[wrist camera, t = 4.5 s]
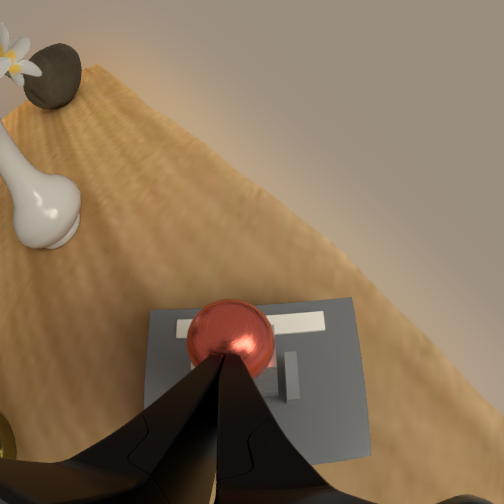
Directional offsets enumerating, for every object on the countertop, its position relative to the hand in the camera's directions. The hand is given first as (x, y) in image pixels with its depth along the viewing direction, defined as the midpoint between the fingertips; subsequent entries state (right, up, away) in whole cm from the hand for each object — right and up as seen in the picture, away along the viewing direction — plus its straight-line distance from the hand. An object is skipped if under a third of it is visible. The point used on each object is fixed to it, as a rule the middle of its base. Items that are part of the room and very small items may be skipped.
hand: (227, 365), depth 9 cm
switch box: (+1, -7, +12) cm, 14 cm away
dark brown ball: (-41, +37, +44) cm, 71 cm away
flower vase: (-21, +6, +22) cm, 31 cm away
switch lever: (+1, -4, +7) cm, 7 cm away
